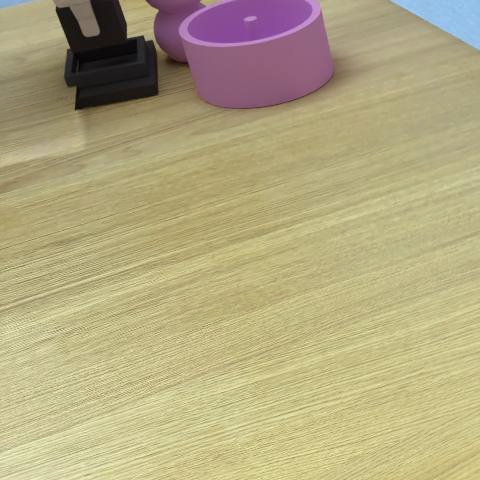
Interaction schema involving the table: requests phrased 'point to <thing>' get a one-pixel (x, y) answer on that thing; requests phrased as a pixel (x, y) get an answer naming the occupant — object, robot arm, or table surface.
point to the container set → (247, 48)
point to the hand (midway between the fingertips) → (93, 22)
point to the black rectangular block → (109, 22)
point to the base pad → (113, 73)
